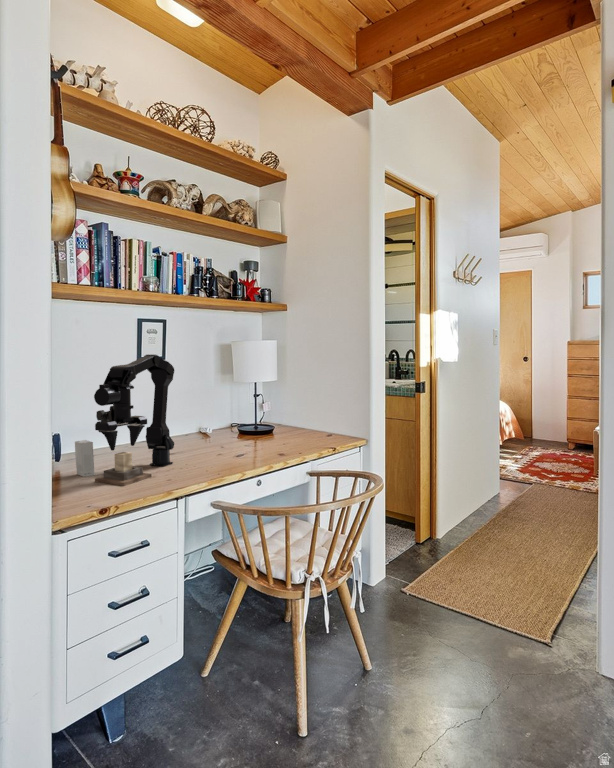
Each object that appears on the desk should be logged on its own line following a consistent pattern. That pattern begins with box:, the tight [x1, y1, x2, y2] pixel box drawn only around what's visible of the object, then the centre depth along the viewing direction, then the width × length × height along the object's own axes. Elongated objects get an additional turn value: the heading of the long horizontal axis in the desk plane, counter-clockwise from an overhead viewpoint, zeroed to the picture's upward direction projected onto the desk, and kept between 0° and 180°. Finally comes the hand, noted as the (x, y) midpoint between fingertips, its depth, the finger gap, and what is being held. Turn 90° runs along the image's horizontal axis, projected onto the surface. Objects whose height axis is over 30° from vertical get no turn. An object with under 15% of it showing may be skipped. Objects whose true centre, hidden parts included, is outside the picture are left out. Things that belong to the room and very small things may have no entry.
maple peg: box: [114, 451, 133, 472], centre depth 170 cm, size 4×4×8 cm
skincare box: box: [74, 439, 96, 478], centre depth 176 cm, size 6×4×12 cm
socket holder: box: [94, 465, 153, 487], centre depth 171 cm, size 13×13×4 cm
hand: (122, 448), depth 170 cm, fingers open, 9 cm apart
